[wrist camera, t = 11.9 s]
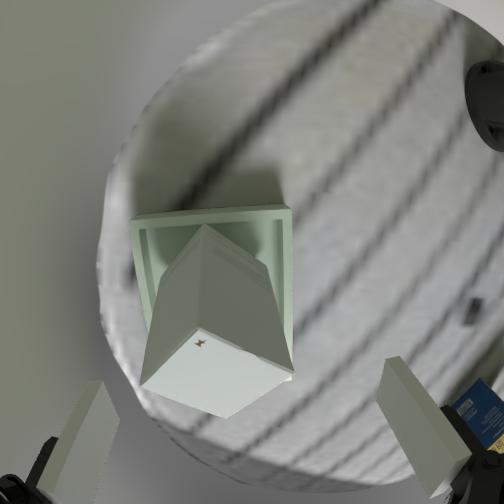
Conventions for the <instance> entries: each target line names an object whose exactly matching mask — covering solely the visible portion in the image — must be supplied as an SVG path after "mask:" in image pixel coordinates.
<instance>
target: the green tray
mask: <svg viewBox="0 0 504 504" xmlns="http://www.w3.org/2000/svg"><path fill="white" fill-rule="evenodd" d="M203 224H207V225H208V226H210V227H211V228H213V229H214V230H216V231H217V232H219V233H220V234H221V235H223V236H224V237H226V238H227V239H229V240H230V241H232V242H233V243H235V244H236V245H237V246H239V247H240V248H242V249H243V250H245V251H246V252H248V253H249V254H251V255H252V256H253V257H255V258H256V259H258V260H259V261H261V262H262V263H264V264H265V265H266V266H267V269H268V273H269V276H270V280H271V284H272V288H273V292H274V296H275V299H276V303H277V307H278V311H279V315H280V319H281V323H282V327H283V331H284V334H285V338H286V342H287V346H288V350H289V354H290V358H291V362H292V332H293V244H292V209H291V208H290V207H288V206H287V205H286V204H273V205H254V206H237V207H222V208H208V209H195V210H183V211H171V212H160V213H149V214H139V215H137V216H135V217H134V218H132V219H131V220H129V228H130V235H131V242H132V249H133V256H134V262H135V269H136V274H137V280H138V286H139V291H140V297H141V302H142V307H143V312H144V317H145V321H146V326H147V330H148V335H149V329H150V324H151V319H152V314H153V309H154V305H155V300H156V295H157V291H158V286H159V282H160V278H161V276H162V275H163V273H164V272H165V271H166V269H167V268H168V267H169V266H170V264H171V263H172V262H173V261H174V259H175V258H176V257H177V256H178V254H179V253H180V252H181V251H182V249H183V248H184V247H185V246H186V244H187V243H188V242H189V241H190V239H191V238H192V237H193V236H194V235H195V233H196V232H197V231H198V230H199V228H200V227H201V226H202V225H203ZM291 379H292V375H291V376H290V377H289V378H287V379H286V380H285V381H290V380H291Z"/></svg>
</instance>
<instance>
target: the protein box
mask: <svg viewBox="0 0 504 504" xmlns="http://www.w3.org/2000/svg"><path fill="white" fill-rule="evenodd" d="M451 408H453V409H454V410H456V411H457V412H458V413H459V415H460V416H461V417H462V418H463V420H464V421H465V422H466V424H467V426H469V428H470V429H471V430H472V432H473V433H474V434H475V436H476V437H477V438H478V440H479V441H480V442H481V444H482V445H483V446H484V447H485V449H486V450H494V451H497V452H498V453H500V452H501V451H502V450H503V449H504V402H503V401H502V400H501V398H500V397H499V396H498V395H497V394H496V393H495V392H494V391H493V390H492V389H491V388H490V387H489V386H488V385H487V384H486V383H485V382H484V381H483V380H482V379H481V378H480V379H479V380H478V381H477V382H476V383H475V384H474V385H473V386H472V387H471V388H470V389H469V390H468V391H467V392H466V393H465V394H464V395H463V396H462V397H461V398H460V399H459V400H458V401H457V402H456V403H455V404H454V405H453V406H452V407H451Z"/></svg>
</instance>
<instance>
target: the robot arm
mask: <svg viewBox="0 0 504 504" xmlns="http://www.w3.org/2000/svg"><path fill="white" fill-rule="evenodd" d="M466 100H467V105H468V109H469V113H470V116H471V119H472V121H473V124H474V126H475V128H476V130H477V132H478V133H479V135H480V137H481V138H482V139H483V141H484V142H485V143H486V144H487V145H488V146H489V147H491V148H492V149H494V150H496V151H500V152H504V63H503V62H498V61H492V60H487V61H483V62H479V63H476V64H474V65H473V66H472V67H471V68H470V70H469V72H468V75H467V79H466ZM376 401H377V403H378V405H379V406H380V408H381V410H382V412H383V414H384V415H385V417H386V419H387V421H388V423H389V425H390V426H391V428H392V430H393V432H394V434H395V435H396V437H397V439H398V441H399V443H400V445H401V447H402V448H403V450H404V452H405V454H406V456H407V458H408V460H409V462H410V463H411V465H412V467H413V469H414V471H415V473H416V475H417V477H418V479H419V481H420V482H421V484H422V486H423V488H424V490H425V492H426V494H427V496H428V498H429V499H430V498H432V497H435V496H437V495H439V494H441V493H443V492H445V491H446V489H447V488H448V487H449V486H450V485H451V487H452V489H453V490H452V492H451V493H450V494H449V495H448V496H447V497H446V499H445V501H444V502H445V503H446V502H447V501H448V500H449V501H448V504H504V453H502V454H500V453H498V452H497V451H494V450H486V449H485V447H484V446H483V445H482V444H481V442H480V441H479V440H478V438H477V437H476V436H475V434H474V433H473V432H472V430H471V429H470V428H469V426H467V424H466V422H465V421H464V420H463V418H462V417H461V416H460V415H459V413H458V412H457V411H456V410H454V409H453V408H451V407H450V406H448V405H446V406H444V407H441V408H439V407H438V406H437V404H436V403H435V402H434V400H433V399H432V398H431V396H430V395H429V394H428V392H427V391H426V390H425V388H424V387H423V386H422V384H421V383H420V382H419V381H418V379H417V378H416V377H415V375H414V374H413V373H412V371H411V370H410V369H409V368H408V366H407V365H406V364H405V362H404V361H403V360H402V359H401V357H400V356H397V357H392V358H388V359H385V364H384V369H383V374H382V378H381V383H380V387H379V391H378V395H377V400H376ZM119 422H120V420H119V417H118V415H117V413H116V411H115V408H114V406H113V404H112V402H111V399H110V397H109V394H108V392H107V390H106V388H105V385H104V382H103V381H98V380H89V381H88V383H87V385H86V387H85V388H84V390H83V392H82V394H81V396H80V398H79V400H78V401H77V404H76V405H75V407H74V409H73V411H72V413H71V415H70V417H69V419H68V421H67V423H66V425H65V427H64V429H63V431H62V433H61V435H60V437H59V438H56V437H51V438H50V439H49V440H47V441H46V442H45V443H44V445H43V447H42V449H41V451H40V454H39V455H38V457H37V461H35V463H34V465H33V467H32V469H31V471H30V474H29V476H28V478H27V480H26V482H25V483H24V482H23V481H22V480H21V479H20V478H19V477H18V476H16V475H13V474H7V475H4V476H2V477H1V478H0V504H93V503H94V499H95V496H96V492H97V489H98V486H99V483H100V479H101V476H102V473H103V469H104V467H105V464H106V460H107V457H108V454H109V451H110V448H111V445H112V442H113V439H114V436H115V433H116V431H117V428H118V425H119Z"/></svg>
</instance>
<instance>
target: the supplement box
mask: <svg viewBox="0 0 504 504" xmlns="http://www.w3.org/2000/svg"><path fill="white" fill-rule="evenodd" d="M293 374H294V369H293V365H292V362H291V358H290V354H289V350H288V346H287V342H286V338H285V334H284V331H283V327H282V323H281V319H280V315H279V311H278V307H277V303H276V299H275V296H274V292H273V288H272V284H271V280H270V276H269V273H268V269H267V266H266V265H265V264H264V263H262V262H261V261H259V260H258V259H256V258H255V257H253V256H252V255H251V254H249V253H248V252H246V251H245V250H243V249H242V248H240V247H239V246H237V245H236V244H235V243H233V242H232V241H230V240H229V239H227V238H226V237H224V236H223V235H221V234H220V233H219V232H217V231H216V230H214V229H213V228H211V227H210V226H208V225H207V224H203V225H202V226H201V227H200V228H199V230H198V231H197V232H196V233H195V235H194V236H193V237H192V238H191V239H190V241H189V242H188V243H187V244H186V246H185V247H184V248H183V249H182V251H181V252H180V253H179V254H178V256H177V257H176V258H175V259H174V261H173V262H172V263H171V264H170V266H169V267H168V268H167V269H166V271H165V272H164V273H163V275H162V276H161V278H160V282H159V286H158V291H157V295H156V300H155V305H154V309H153V314H152V319H151V324H150V329H149V335H148V340H147V345H146V350H145V356H144V362H143V367H142V373H141V379H140V387H142V388H145V389H147V390H150V391H152V392H154V393H157V394H159V395H162V396H164V397H167V398H169V399H172V400H174V401H177V402H180V403H182V404H185V405H188V406H191V407H193V408H196V409H199V410H202V411H205V412H208V413H210V414H213V415H216V416H219V417H222V418H225V419H226V418H228V417H230V416H231V415H233V414H235V413H236V412H238V411H239V410H241V409H243V408H244V407H245V406H247V405H248V404H250V403H252V402H253V401H255V400H256V399H258V398H259V397H261V396H262V395H264V394H265V393H267V392H268V391H270V390H272V389H273V388H275V387H276V386H277V385H279V384H280V383H282V382H283V381H285V380H286V379H287V378H289V377H290V376H291V375H293Z"/></svg>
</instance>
